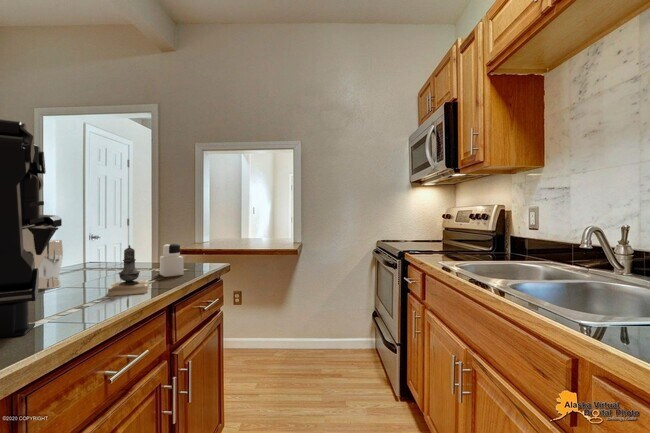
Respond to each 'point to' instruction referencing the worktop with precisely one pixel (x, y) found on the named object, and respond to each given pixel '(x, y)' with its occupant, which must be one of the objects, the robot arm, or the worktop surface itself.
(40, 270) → the beer glass
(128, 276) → the salt shaker
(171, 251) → the medicine bottle
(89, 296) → the worktop surface
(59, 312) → the worktop surface
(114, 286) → the oak base
